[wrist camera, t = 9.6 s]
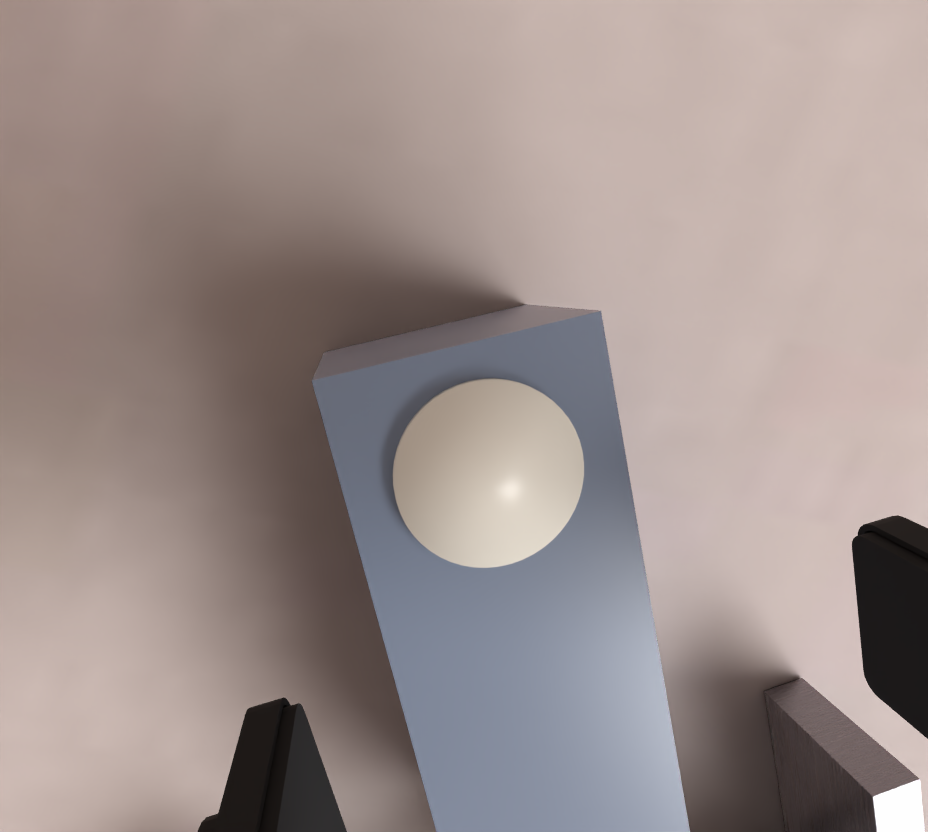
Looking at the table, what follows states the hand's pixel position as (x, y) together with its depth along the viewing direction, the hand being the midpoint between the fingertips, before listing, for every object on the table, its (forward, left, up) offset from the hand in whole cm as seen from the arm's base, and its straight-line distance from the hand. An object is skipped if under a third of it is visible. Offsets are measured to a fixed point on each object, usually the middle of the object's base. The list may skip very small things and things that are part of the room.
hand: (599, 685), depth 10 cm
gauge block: (+1, +1, -6) cm, 7 cm away
